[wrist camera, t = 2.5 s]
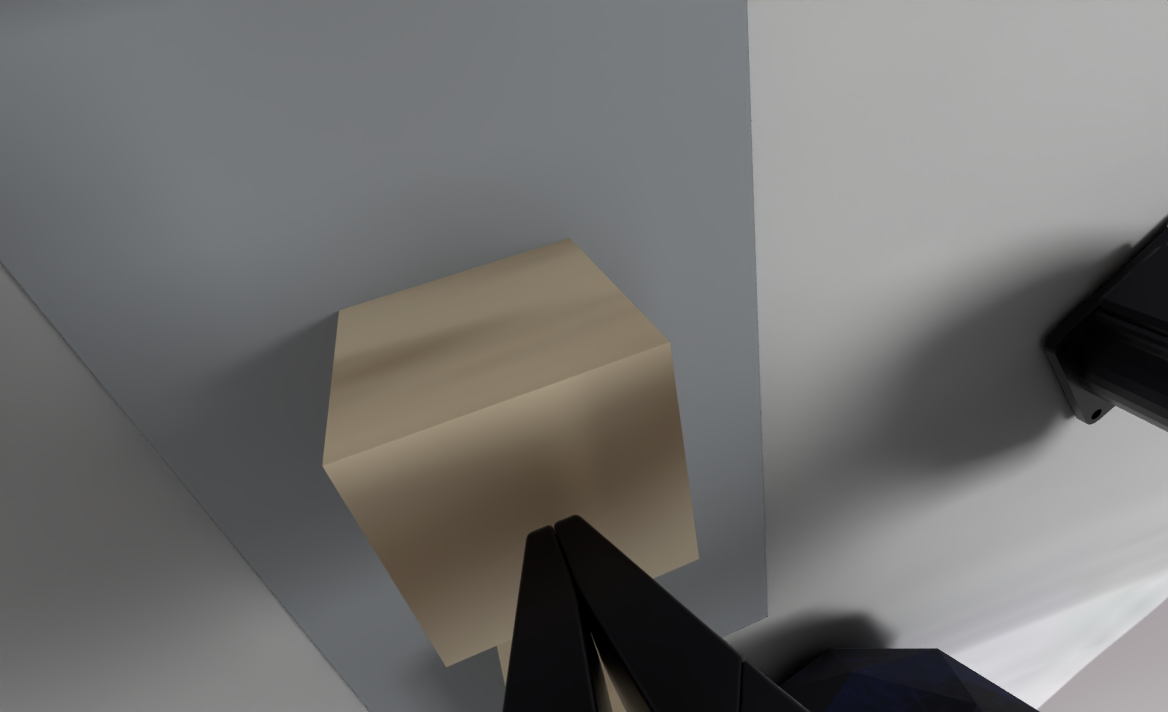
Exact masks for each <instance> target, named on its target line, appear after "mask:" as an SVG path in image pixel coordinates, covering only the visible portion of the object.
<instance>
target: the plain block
mask: <svg viewBox="0 0 1168 712" xmlns="http://www.w3.org/2000/svg"><path fill="white" fill-rule="evenodd" d="M322 466H323V468H324V470H325V471H326V473H327V475H328V476H329V478H330V479H331V481H332V483H333V484H334V486H335V488H336V489H337V491H338V492H339V494H340V496H341V497H342V499H343V501H344V502H345V504H346V505H347V507H348V509H349V510H350V512H351V513H352V515H353V517H354V518H355V520H356V522H357V523H358V525H359V526H360V528H361V530H362V531H363V533H364V535H365V536H366V538H367V539H368V541H369V543H370V544H371V546H372V548H373V549H374V551H375V552H376V554H377V556H378V557H379V559H380V561H381V562H382V564H383V565H384V567H385V569H386V570H387V572H388V573H389V575H390V577H391V578H392V580H393V582H394V583H395V585H396V586H397V588H398V590H399V591H400V593H401V595H402V596H403V598H404V599H405V601H406V603H407V604H408V606H409V608H410V609H411V611H412V612H413V614H414V616H415V617H416V619H417V621H418V622H419V624H420V625H421V627H422V629H423V630H424V632H425V634H426V635H427V637H428V638H429V640H430V642H431V643H432V645H433V646H434V648H435V650H436V651H437V653H438V655H439V656H440V658H441V659H442V661H443V663H444V664H445V666H446V667H448V666H450V665H453V664H455V663H457V662H460V661H462V660H464V659H467V658H469V657H471V656H474V655H476V654H478V653H481V652H483V651H485V650H488V649H490V648H492V647H495V646H497V645H499V644H502V643H504V642H506V641H509V640H511V639H512V636H513V629H514V622H515V614H516V607H517V600H518V593H519V586H520V579H521V571H522V564H523V557H524V550H525V543H526V537H527V535H528V534H529V533H530V532H532V531H534V530H537V529H539V528H542V527H544V526H547V525H551V526H553V528H554V524H555V523H556V522H557V521H559V520H562V519H565V518H567V517H570V516H572V515H579V516H581V517H582V518H583V519H584V520H586V521H587V522H588V523H589V524H590V525H591V526H593V527H594V528H595V529H596V530H597V531H598V532H600V533H601V534H602V535H603V536H604V537H605V538H606V539H608V540H609V541H610V542H611V543H612V544H613V545H615V546H616V547H617V548H618V549H619V550H620V551H622V552H623V553H624V554H625V555H626V556H627V557H628V558H630V559H631V560H632V561H633V562H634V563H635V564H637V565H638V566H639V567H640V568H641V569H642V570H644V571H645V572H646V573H647V574H648V575H649V576H651V577H652V578H656V577H658V576H660V575H663V574H665V573H667V572H670V571H672V570H674V569H677V568H679V567H682V566H684V565H686V564H689V563H691V562H693V561H696V560H698V559H699V554H698V547H697V539H696V532H695V524H694V517H693V510H692V502H691V495H690V487H689V480H688V472H687V465H686V457H685V450H684V442H683V435H682V427H681V420H680V412H679V405H678V398H677V390H676V383H675V375H674V368H673V360H672V353H671V345H670V342H669V340H668V339H667V338H666V337H665V336H664V335H663V334H662V333H661V332H660V331H659V330H658V329H657V328H656V327H655V326H654V325H653V324H652V323H651V322H650V321H649V320H648V319H647V318H646V317H645V316H644V314H643V313H642V312H641V311H640V310H639V309H638V308H637V307H636V306H635V305H634V304H633V303H632V302H631V301H630V300H629V299H628V298H627V297H626V296H625V295H624V294H623V293H622V292H621V291H620V290H619V289H618V287H617V286H616V285H615V284H614V283H613V282H612V281H611V280H610V279H609V278H608V277H607V276H606V275H605V274H604V273H603V272H602V271H601V270H600V269H599V268H598V267H597V266H596V265H595V264H594V263H593V261H592V260H591V259H590V258H589V257H588V256H587V255H586V254H585V253H584V252H583V251H582V250H581V249H580V248H579V247H578V246H577V245H576V244H575V243H574V242H573V241H572V240H571V239H570V238H568V239H565V240H562V241H559V242H556V243H552V244H549V245H546V246H543V247H540V248H536V249H533V250H530V251H527V252H524V253H520V254H517V255H514V256H511V257H508V258H504V259H501V260H498V261H495V262H492V263H489V264H485V265H482V266H479V267H476V268H473V269H469V270H466V271H463V272H460V273H457V274H453V275H450V276H447V277H444V278H441V279H438V280H434V281H431V282H428V283H425V284H422V285H418V286H415V287H412V288H409V289H406V290H402V291H399V292H396V293H393V294H390V295H386V296H383V297H380V298H377V299H374V300H371V301H367V302H364V303H361V304H358V305H355V306H351V307H348V308H345V309H342V310H339V316H338V325H337V334H336V344H335V353H334V362H333V371H332V381H331V390H330V399H329V408H328V418H327V427H326V436H325V445H324V454H323V464H322ZM554 530H555V529H554ZM555 533H556V532H555Z"/></svg>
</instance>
